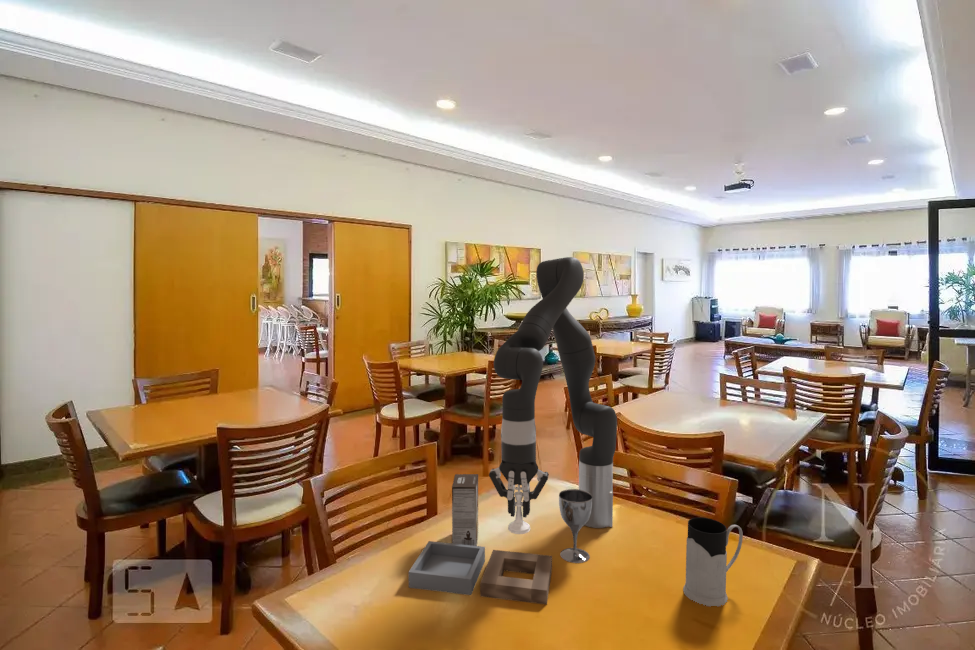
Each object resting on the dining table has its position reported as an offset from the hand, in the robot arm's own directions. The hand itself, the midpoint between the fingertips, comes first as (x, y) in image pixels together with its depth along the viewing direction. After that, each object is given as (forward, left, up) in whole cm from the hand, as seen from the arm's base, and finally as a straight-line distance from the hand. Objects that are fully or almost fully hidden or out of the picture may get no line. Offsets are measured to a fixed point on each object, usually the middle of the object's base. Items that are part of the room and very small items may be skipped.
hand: (518, 515), depth 111 cm
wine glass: (-12, -14, -15) cm, 24 cm away
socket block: (0, 0, -15) cm, 15 cm away
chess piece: (0, 0, -3) cm, 3 cm away
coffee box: (+16, -16, -15) cm, 27 cm away
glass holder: (-42, -5, -15) cm, 45 cm away
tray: (+16, 0, -15) cm, 22 cm away
